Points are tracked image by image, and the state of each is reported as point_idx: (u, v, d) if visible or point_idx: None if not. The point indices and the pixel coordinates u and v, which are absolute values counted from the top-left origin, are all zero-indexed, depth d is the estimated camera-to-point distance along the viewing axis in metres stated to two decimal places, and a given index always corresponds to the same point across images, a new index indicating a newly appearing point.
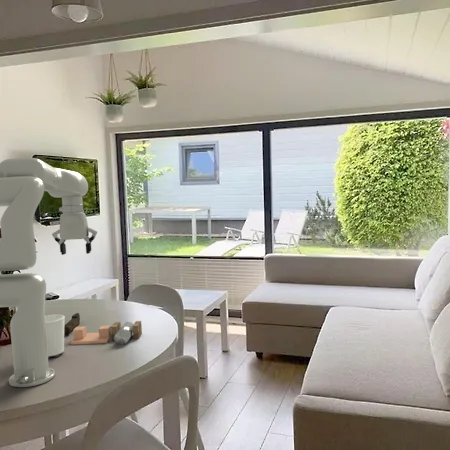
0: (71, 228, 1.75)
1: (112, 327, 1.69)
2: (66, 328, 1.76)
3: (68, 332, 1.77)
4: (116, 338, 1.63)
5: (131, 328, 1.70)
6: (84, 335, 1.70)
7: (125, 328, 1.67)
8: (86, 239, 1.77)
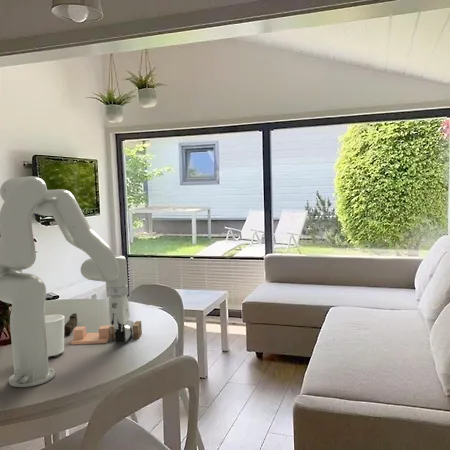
0: (126, 310, 1.61)
1: (112, 327, 1.69)
2: (67, 328, 1.76)
3: (69, 332, 1.77)
4: None
5: (131, 326, 1.72)
6: (84, 335, 1.70)
7: (125, 326, 1.68)
8: (124, 324, 1.63)
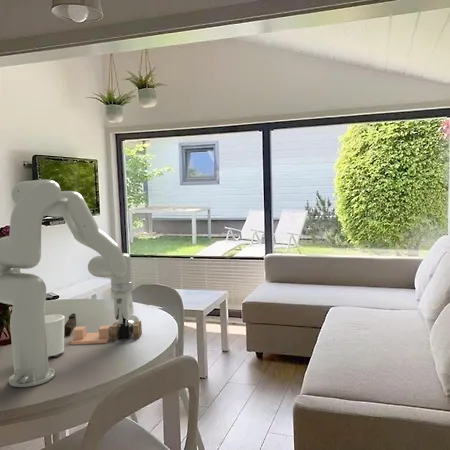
0: (130, 305, 1.68)
1: (112, 327, 1.69)
2: (67, 328, 1.76)
3: (69, 332, 1.77)
4: None
5: (135, 321, 1.78)
6: (84, 335, 1.70)
7: (129, 321, 1.75)
8: (128, 319, 1.70)
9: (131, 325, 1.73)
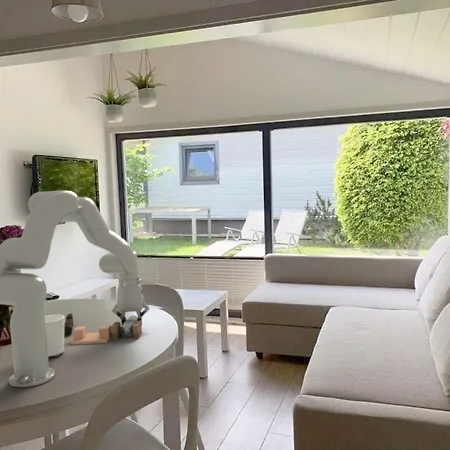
0: None
1: (112, 327, 1.69)
2: (68, 328, 1.77)
3: (70, 332, 1.77)
4: (121, 330, 1.71)
5: None
6: (84, 335, 1.70)
7: (130, 321, 1.75)
8: None
9: (132, 325, 1.73)
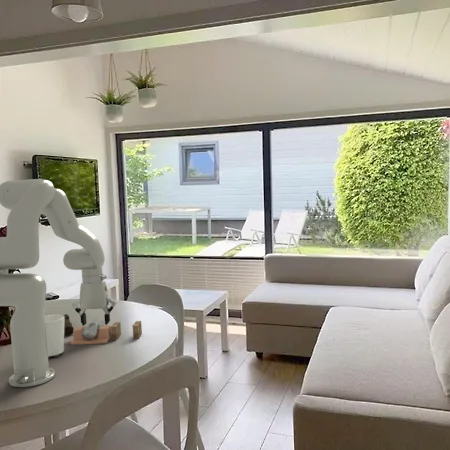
0: None
1: (112, 327, 1.69)
2: (70, 328, 1.77)
3: (72, 331, 1.77)
4: (83, 333, 1.66)
5: (100, 325, 1.73)
6: None
7: (94, 324, 1.70)
8: None
9: (95, 329, 1.67)
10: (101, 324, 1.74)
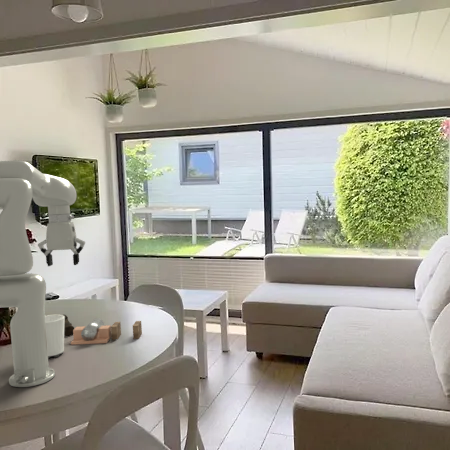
0: None
1: (112, 327, 1.69)
2: (71, 327, 1.77)
3: None
4: (83, 334, 1.66)
5: (99, 324, 1.73)
6: None
7: (93, 324, 1.70)
8: None
9: (94, 328, 1.67)
10: (100, 324, 1.74)
